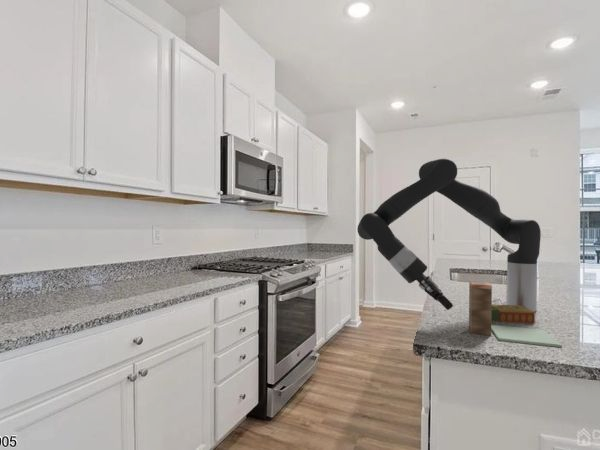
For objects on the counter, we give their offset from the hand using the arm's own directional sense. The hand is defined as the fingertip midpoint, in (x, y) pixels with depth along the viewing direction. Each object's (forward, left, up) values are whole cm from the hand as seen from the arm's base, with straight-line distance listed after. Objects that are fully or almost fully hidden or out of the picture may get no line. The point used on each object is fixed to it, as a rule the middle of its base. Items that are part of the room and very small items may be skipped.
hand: (450, 307), depth 99 cm
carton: (-14, +22, -7) cm, 26 cm away
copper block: (+2, +8, -6) cm, 10 cm away
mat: (+5, +18, -6) cm, 19 cm away
